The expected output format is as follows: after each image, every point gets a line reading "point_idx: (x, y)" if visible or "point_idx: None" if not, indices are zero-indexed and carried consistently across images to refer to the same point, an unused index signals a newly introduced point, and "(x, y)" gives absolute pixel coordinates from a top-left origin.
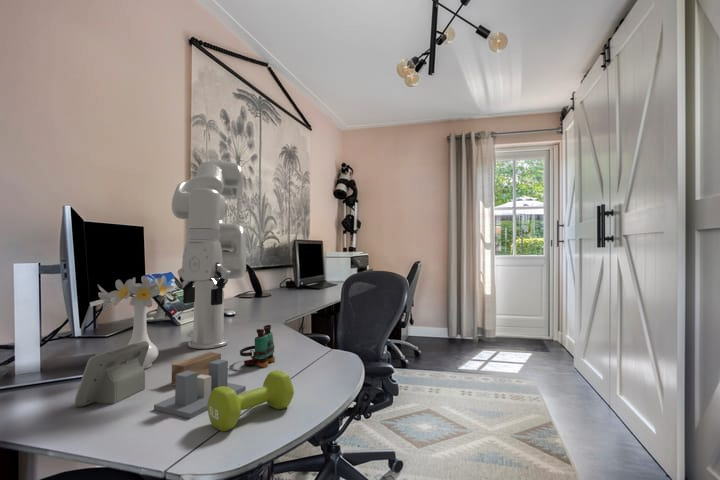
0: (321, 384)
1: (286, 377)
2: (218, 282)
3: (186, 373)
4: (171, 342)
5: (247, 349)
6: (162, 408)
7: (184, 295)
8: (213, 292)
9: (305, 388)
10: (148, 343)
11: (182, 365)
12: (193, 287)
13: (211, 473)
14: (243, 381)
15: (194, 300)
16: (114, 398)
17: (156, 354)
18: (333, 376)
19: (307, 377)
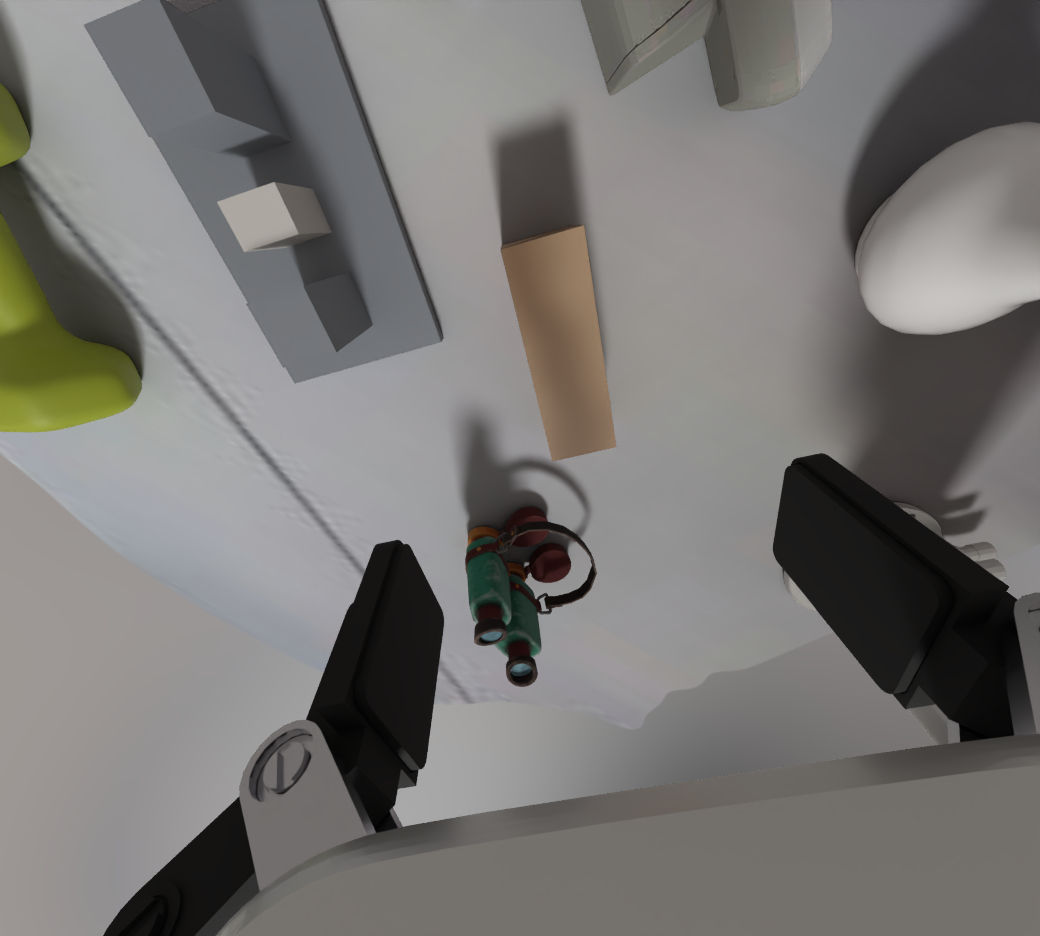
0: (219, 541)
1: None
2: (224, 874)
3: (150, 68)
4: (1034, 495)
5: (592, 569)
6: None
7: (866, 507)
8: (336, 667)
9: (212, 499)
10: (760, 92)
11: (519, 252)
12: (907, 690)
13: None
14: (394, 423)
15: (780, 562)
16: None
17: (870, 303)
18: (262, 592)
19: (298, 552)
